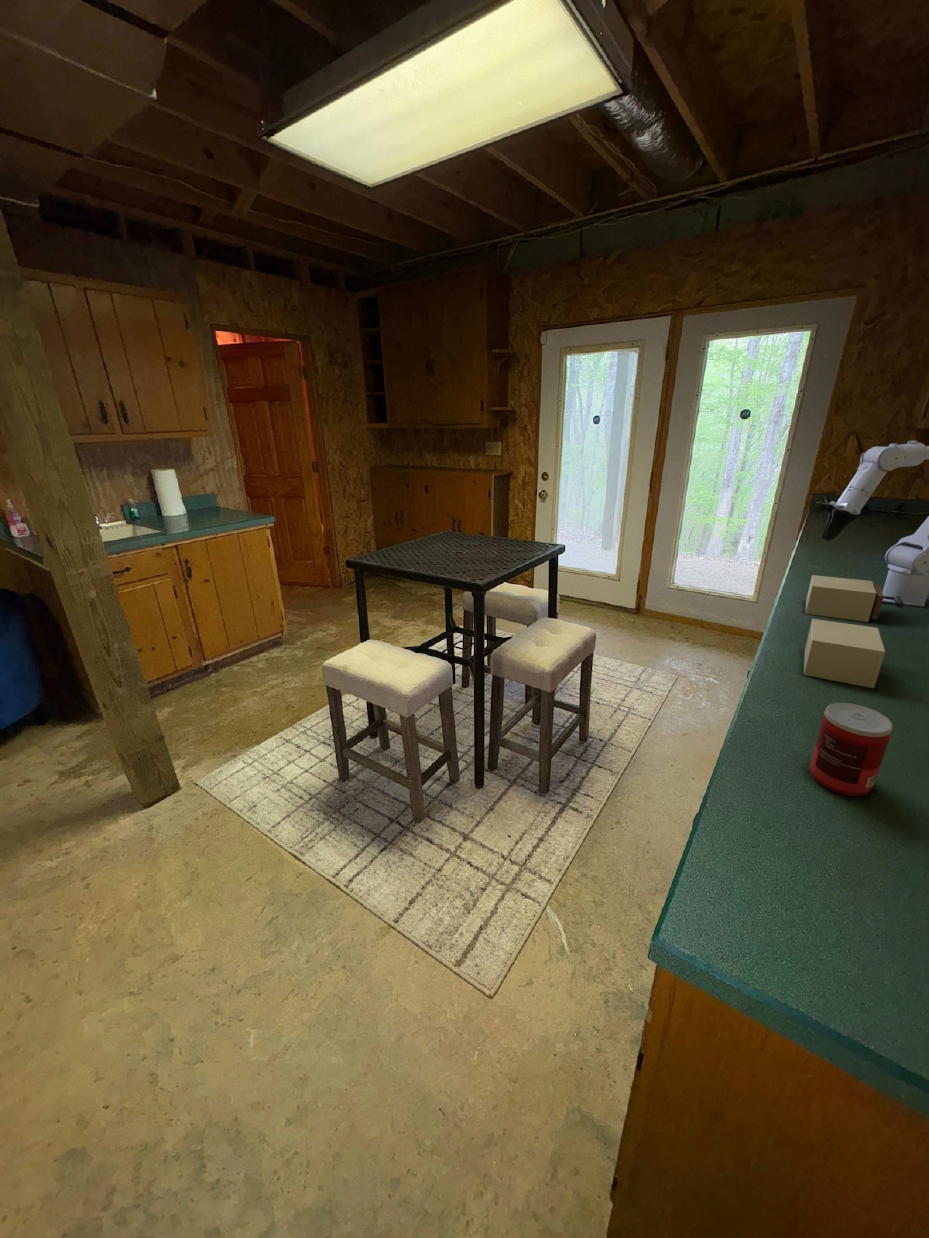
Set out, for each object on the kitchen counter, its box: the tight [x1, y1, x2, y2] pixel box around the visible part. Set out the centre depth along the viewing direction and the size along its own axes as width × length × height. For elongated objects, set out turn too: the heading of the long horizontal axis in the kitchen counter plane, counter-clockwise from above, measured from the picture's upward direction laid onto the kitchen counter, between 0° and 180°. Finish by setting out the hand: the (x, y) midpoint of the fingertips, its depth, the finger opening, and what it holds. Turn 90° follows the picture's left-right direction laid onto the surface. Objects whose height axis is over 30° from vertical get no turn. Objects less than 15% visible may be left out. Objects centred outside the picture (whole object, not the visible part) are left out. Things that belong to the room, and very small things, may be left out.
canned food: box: [809, 702, 893, 797], centre depth 70 cm, size 8×8×11 cm
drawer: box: [870, 584, 905, 620], centre depth 130 cm, size 17×10×6 cm, turn 56°
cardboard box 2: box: [803, 618, 886, 689], centre depth 103 cm, size 14×12×8 cm
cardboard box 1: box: [805, 574, 876, 623], centre depth 133 cm, size 14×12×8 cm
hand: (826, 538), depth 132 cm, fingers open, 7 cm apart
